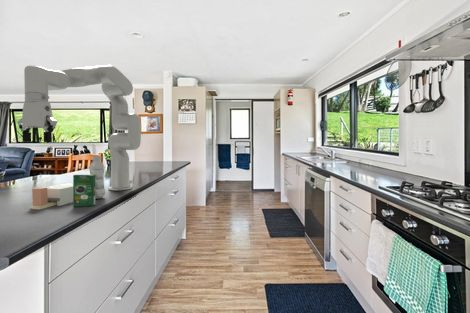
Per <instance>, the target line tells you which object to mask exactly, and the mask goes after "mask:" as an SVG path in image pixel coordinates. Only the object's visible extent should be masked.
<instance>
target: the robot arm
mask: <svg viewBox="0 0 470 313" xmlns="http://www.w3.org/2000/svg"><path fill="white" fill-rule="evenodd" d="M23 69H24V70H23V71H24V72H23V73H24V74H23V75H24V76H23V77H24V102H23V105H22V106H23V107H22V116H21V117H22V118H20V119H18V120H17V121H16V122H17V125H18V128H19V129H20V132H21V133H22V143H31V142H32V132H31V131H32V130H33V128H35V129H38V128H39V129H40V128H41V129H43V142H44V143H52V142H53V135H52V134H53V133H54V130H55V129H56V126H57V123H58V121H57V120H56V119H54V118H53V111H52V110H53V109H52V106H51V102H49V99H50V96H49V91H60V90H62V91H63V90H66V89H68V88H82V87H88V86H93V85H94V86H95V85H100V84H101V90H102V92H103V93H104V95H105V96H106V97H107V98H108V100H109V102H110V104H111V127H112V128H113V129H114V130H115V131H127V132H115V133H112V134H110V136H109V137H108V141H107V143H108V146H109V151H110V185H111V186H108V188H107V189H108V190H109V191H118V192H119V191H126V190H127V191H128V190H132V189H133V185H131V184H133V182H134V181H133V179H130V156H129V154H128V152H127V151H136V150H138V149H139V148H140V146H141V142H142V140H141V138H142V121H141V118H140V116H139V115H138V114H137V113H134V112H129V104H128V101H127V100H126V99H125V96H126V97H127V96H131V94H132V93H133V92H134V86H133V83H132V82H131V80H130V79H129V78H127V76H126V75H125V74H124V73H122V71H120V70H119V69H118V68H117V67H115V66H113V65H111V64H108V65H107V64H106V65H104V64H103V65H95V66H85V67H73V68H68V69H62V70H61V69H60V70H53V69H47V68H45V67H42V66H40V65H39V66H38V65H27V66H25V67H24V68H23Z"/></svg>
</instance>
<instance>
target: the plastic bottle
mask: <svg viewBox="0 0 470 313" xmlns="http://www.w3.org/2000/svg"><path fill="white" fill-rule="evenodd" d="M91 160H92V161H91V163H90V165H89V168H88V169H89V175H95V200H99V199H104V198H105V195H106V189H105V184H104V183H105V182H104V178H105V176H104V175H105V167H106V166H105V165H104V163H103V162H102V161H101V160H102V156H101V155H92V157H91Z"/></svg>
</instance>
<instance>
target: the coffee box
mask: <svg viewBox="0 0 470 313" xmlns="http://www.w3.org/2000/svg"><path fill="white" fill-rule="evenodd" d="M72 176H73V178H72V179H73V181H72V182H73V183H72V184H73V202H72V204H73V206H72V207H74V208H76V207H78V208H79V207H94V206H96V199H95V175H90V174H73V175H72Z"/></svg>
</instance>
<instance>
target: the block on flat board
mask: <svg viewBox="0 0 470 313" xmlns="http://www.w3.org/2000/svg"><path fill="white" fill-rule="evenodd" d="M45 187H46V186H43V187H42V186H41V187H40V186H39V187H32V189H31V190H32V191H31V192H32V195H31V196H32V205H30V206H29V209H30V210H43V209H48V208H51V207H54V206H57V201H48V194H47V188H45Z"/></svg>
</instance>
